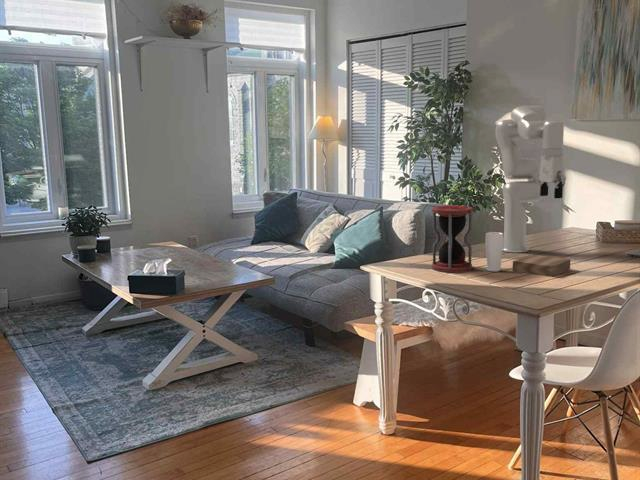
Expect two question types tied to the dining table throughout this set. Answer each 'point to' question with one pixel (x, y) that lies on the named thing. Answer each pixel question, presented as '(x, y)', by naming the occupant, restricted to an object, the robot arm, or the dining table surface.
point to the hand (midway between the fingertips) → (551, 197)
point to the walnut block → (541, 265)
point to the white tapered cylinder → (494, 250)
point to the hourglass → (452, 238)
